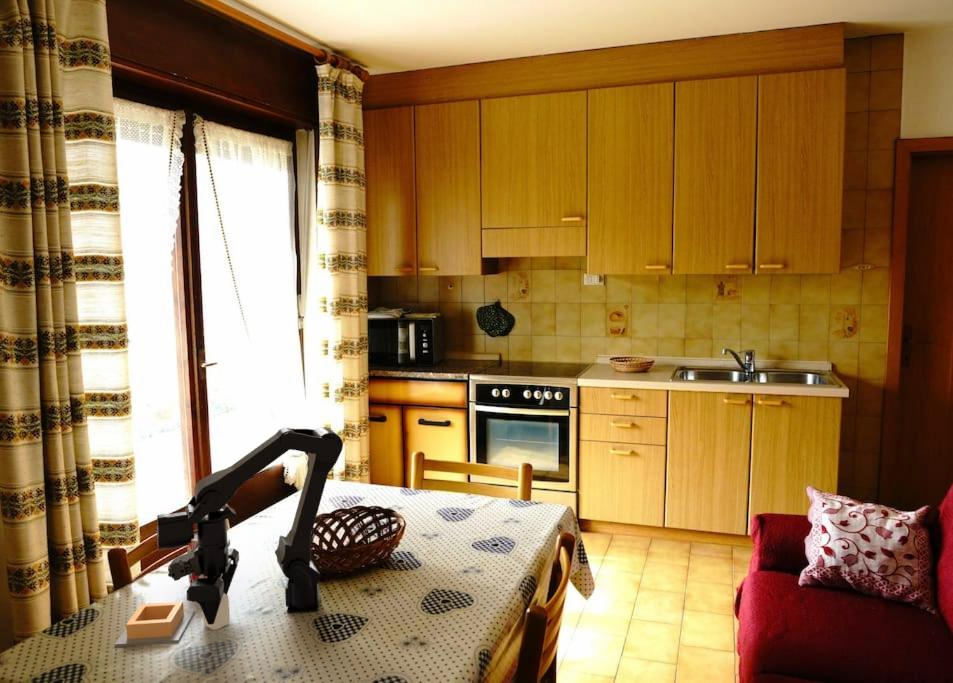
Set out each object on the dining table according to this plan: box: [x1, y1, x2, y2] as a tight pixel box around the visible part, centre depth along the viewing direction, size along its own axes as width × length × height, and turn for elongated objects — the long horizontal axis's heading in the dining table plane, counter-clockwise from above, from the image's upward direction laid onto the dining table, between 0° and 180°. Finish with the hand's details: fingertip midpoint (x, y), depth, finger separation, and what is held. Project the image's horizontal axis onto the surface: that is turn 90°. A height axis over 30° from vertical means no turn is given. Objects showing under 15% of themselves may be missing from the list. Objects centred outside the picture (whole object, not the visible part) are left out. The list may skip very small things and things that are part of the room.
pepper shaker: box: [202, 579, 231, 631], centre depth 147 cm, size 4×4×10 cm
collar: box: [114, 601, 196, 648], centre depth 146 cm, size 12×12×4 cm
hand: (216, 612), depth 148 cm, fingers open, 9 cm apart
